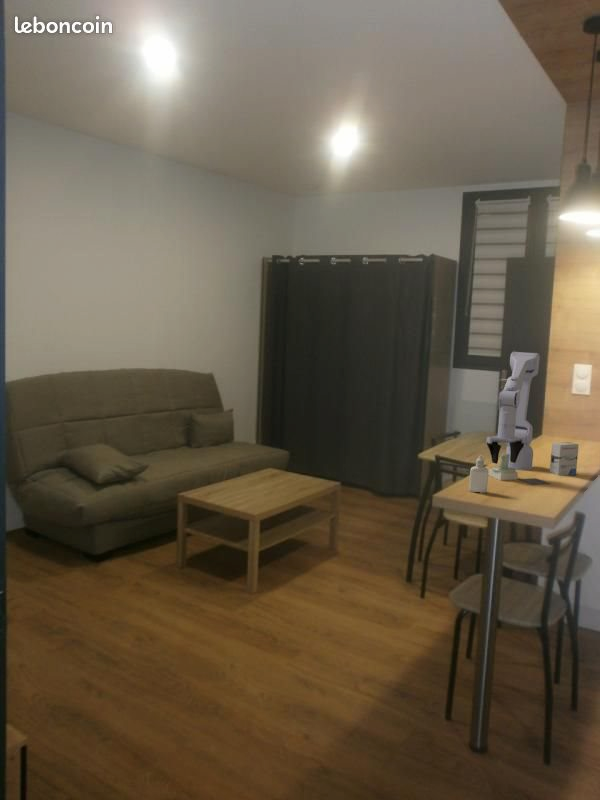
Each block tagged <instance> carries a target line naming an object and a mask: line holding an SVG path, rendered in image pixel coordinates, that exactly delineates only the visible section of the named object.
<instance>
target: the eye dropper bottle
mask: <svg viewBox="0 0 600 800" xmlns="http://www.w3.org/2000/svg"><path fill="white" fill-rule="evenodd" d="M469 470H470V471H469V472H470V473H469V480H468V481H469V482H468V483H469V484H468V491H469V492H470V493H474V492H480V493H479V494H486V493H487V492H488V482H489V481H488V480H489V476H488V475H489V468H487V467H485V459H483V455H482V454H481V455H479V456H478V457H477V459H476V460H475V465H474V466H472V467H471V468H470V469H469Z"/></svg>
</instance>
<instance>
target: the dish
mask: <svg viewBox="0 0 600 800" xmlns="http://www.w3.org/2000/svg"><path fill="white" fill-rule="evenodd" d="M518 474H519V472H518V471H516V472H515V473H500V472H495V471H493V470H492V467H491V468H488V477H490V478H493V479H495V480H498V481H517V480H518V477H519V476H518Z"/></svg>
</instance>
